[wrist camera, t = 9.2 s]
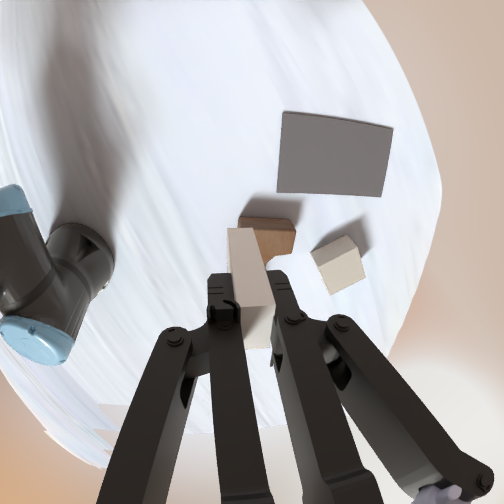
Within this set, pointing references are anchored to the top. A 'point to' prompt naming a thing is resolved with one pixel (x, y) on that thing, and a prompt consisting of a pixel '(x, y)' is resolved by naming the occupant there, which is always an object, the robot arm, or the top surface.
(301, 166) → the charcoal mat
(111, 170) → the top surface
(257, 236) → the wooden block
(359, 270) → the smooth beige box
